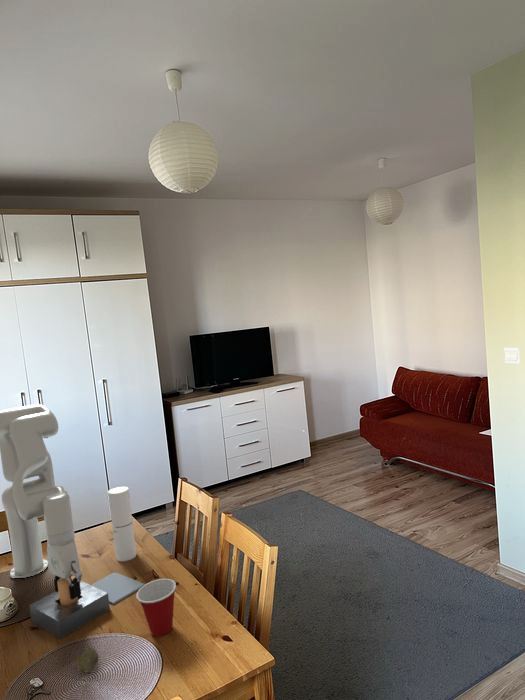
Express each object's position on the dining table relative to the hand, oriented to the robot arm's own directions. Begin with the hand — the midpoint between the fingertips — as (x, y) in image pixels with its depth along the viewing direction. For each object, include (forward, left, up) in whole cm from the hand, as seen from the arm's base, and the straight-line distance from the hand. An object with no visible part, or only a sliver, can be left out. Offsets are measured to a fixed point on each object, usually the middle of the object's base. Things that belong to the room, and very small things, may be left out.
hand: (68, 593), depth 152 cm
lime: (+26, -11, -7) cm, 29 cm away
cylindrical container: (-16, +32, -7) cm, 36 cm away
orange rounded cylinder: (0, 0, -7) cm, 7 cm away
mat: (-1, +16, -7) cm, 17 cm away
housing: (0, 0, -7) cm, 7 cm away
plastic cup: (+30, +9, -7) cm, 32 cm away
